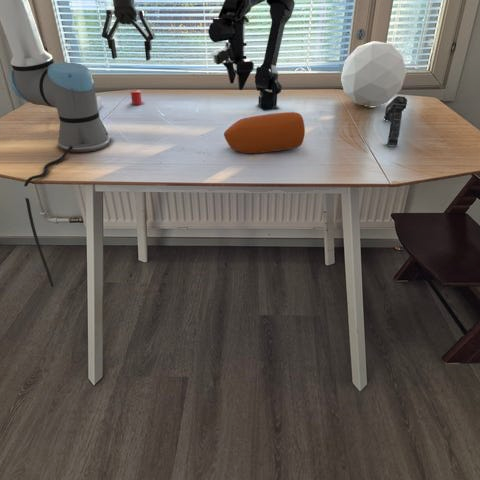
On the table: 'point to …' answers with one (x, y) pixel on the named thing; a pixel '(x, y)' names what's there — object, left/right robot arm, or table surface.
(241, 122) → the orange tapered rounded cylinder
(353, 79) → the decorative sphere
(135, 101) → the can
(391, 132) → the futuristic handgun
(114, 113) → the table surface
